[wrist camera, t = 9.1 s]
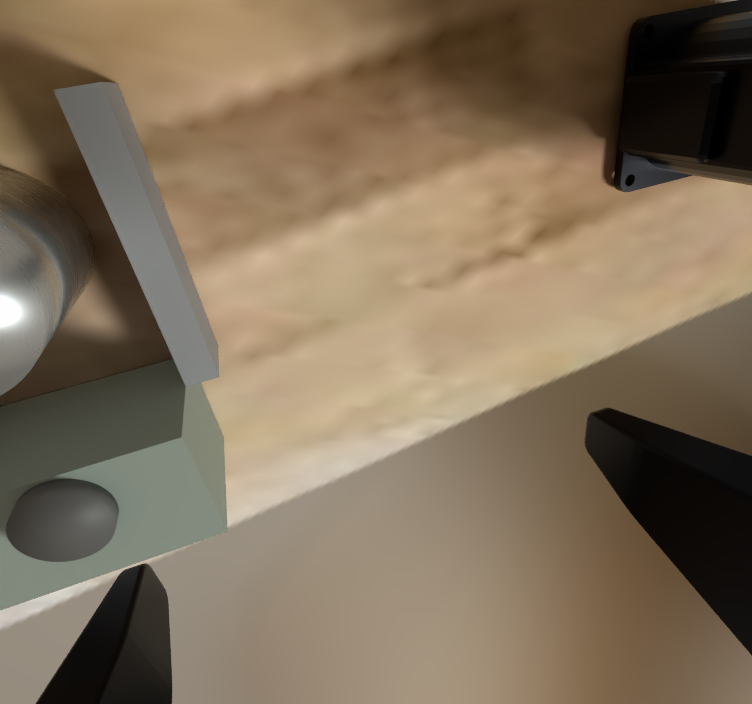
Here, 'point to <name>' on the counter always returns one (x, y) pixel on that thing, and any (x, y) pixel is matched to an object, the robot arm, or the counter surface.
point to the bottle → (36, 270)
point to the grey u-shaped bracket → (116, 405)
